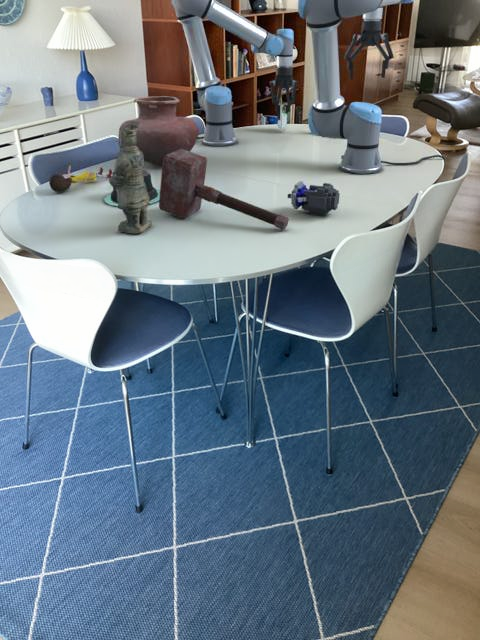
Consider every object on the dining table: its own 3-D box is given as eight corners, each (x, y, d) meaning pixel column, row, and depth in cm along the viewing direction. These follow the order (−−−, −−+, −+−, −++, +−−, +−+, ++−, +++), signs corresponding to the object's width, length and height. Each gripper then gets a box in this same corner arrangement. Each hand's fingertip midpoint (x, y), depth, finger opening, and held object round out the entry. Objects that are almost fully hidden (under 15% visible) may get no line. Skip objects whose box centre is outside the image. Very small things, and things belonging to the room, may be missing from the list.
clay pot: (207, 155, 234) (203, 91, 222) (188, 175, 209) (184, 105, 196) (138, 153, 239) (131, 91, 226) (112, 172, 214) (103, 104, 201)
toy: (295, 178, 172) (342, 184, 166) (295, 205, 177) (340, 211, 171) (285, 186, 166) (333, 192, 160) (284, 213, 170) (331, 220, 164)
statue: (131, 220, 168) (117, 116, 152) (158, 224, 164) (147, 118, 149) (109, 233, 159) (93, 124, 144) (138, 237, 156) (124, 126, 140)
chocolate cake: (91, 202, 180) (113, 186, 197) (142, 231, 182) (160, 212, 199) (107, 162, 172) (129, 148, 190) (160, 192, 174) (177, 176, 192)
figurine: (118, 166, 204) (64, 174, 185) (119, 186, 207) (65, 196, 188) (93, 161, 211) (38, 168, 191) (95, 181, 214) (40, 190, 195)
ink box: (283, 125, 276) (285, 95, 269) (286, 130, 267) (288, 99, 260) (276, 125, 275) (278, 95, 268) (279, 129, 267) (281, 98, 260)
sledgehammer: (299, 190, 156) (179, 147, 167) (285, 200, 148) (161, 154, 160) (286, 244, 166) (174, 200, 177) (272, 256, 158) (156, 209, 170)
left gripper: (300, 65, 261) (297, 117, 273) (266, 65, 260) (265, 118, 272) (302, 67, 255) (300, 120, 266) (268, 67, 254) (266, 121, 266)
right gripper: (399, 19, 224) (393, 76, 235) (338, 20, 223) (335, 77, 234) (405, 19, 218) (399, 78, 229) (343, 21, 217) (339, 80, 227)
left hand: (282, 119), depth 269 cm, fingers closed on ink box, 3 cm apart
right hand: (366, 78), depth 231 cm, fingers open, 13 cm apart
